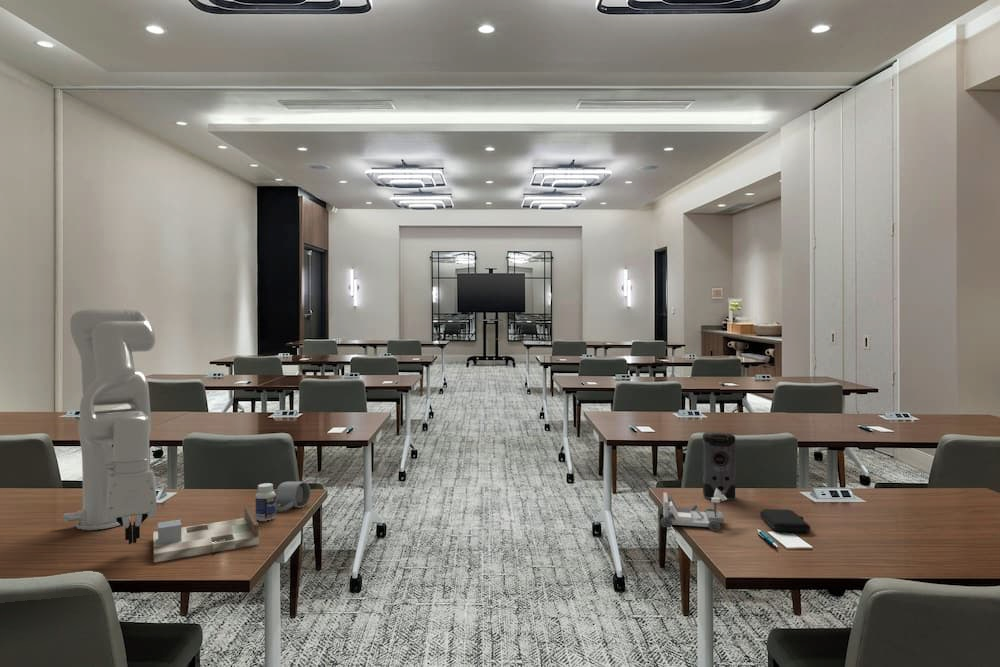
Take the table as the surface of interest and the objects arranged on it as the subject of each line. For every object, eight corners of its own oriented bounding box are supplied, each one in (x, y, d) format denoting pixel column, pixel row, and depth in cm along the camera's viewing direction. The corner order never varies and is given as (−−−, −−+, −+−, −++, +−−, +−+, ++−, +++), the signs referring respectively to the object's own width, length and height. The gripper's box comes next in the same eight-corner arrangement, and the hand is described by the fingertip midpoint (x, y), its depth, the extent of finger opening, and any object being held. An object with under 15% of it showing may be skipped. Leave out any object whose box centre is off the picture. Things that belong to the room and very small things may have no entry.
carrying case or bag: (817, 537, 158) (797, 519, 172) (817, 525, 158) (797, 508, 172) (774, 535, 159) (758, 517, 174) (774, 523, 159) (758, 507, 174)
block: (158, 544, 148) (158, 528, 148) (158, 538, 152) (157, 522, 152) (181, 540, 150) (181, 524, 150) (180, 535, 155) (180, 519, 155)
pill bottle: (268, 522, 171) (268, 487, 171) (251, 521, 172) (251, 486, 172) (279, 516, 176) (279, 482, 176) (262, 515, 177) (262, 482, 177)
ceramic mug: (289, 501, 191) (288, 477, 191) (311, 503, 189) (310, 479, 188) (266, 511, 181) (265, 486, 181) (289, 514, 179) (288, 488, 178)
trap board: (153, 562, 142) (153, 541, 142) (153, 539, 157) (153, 520, 157) (258, 544, 153) (258, 524, 153) (248, 524, 169) (248, 506, 169)
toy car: (725, 485, 172) (730, 496, 161) (725, 519, 172) (730, 533, 161) (659, 481, 176) (660, 492, 165) (659, 515, 176) (660, 528, 165)
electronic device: (705, 499, 191) (705, 436, 191) (702, 494, 197) (702, 432, 196) (736, 500, 189) (736, 436, 189) (732, 495, 195) (732, 433, 195)
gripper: (93, 473, 140) (94, 552, 140) (167, 466, 148) (168, 541, 148) (95, 467, 147) (96, 543, 147) (166, 460, 154) (167, 532, 154)
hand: (132, 541), depth 147 cm, fingers closed
